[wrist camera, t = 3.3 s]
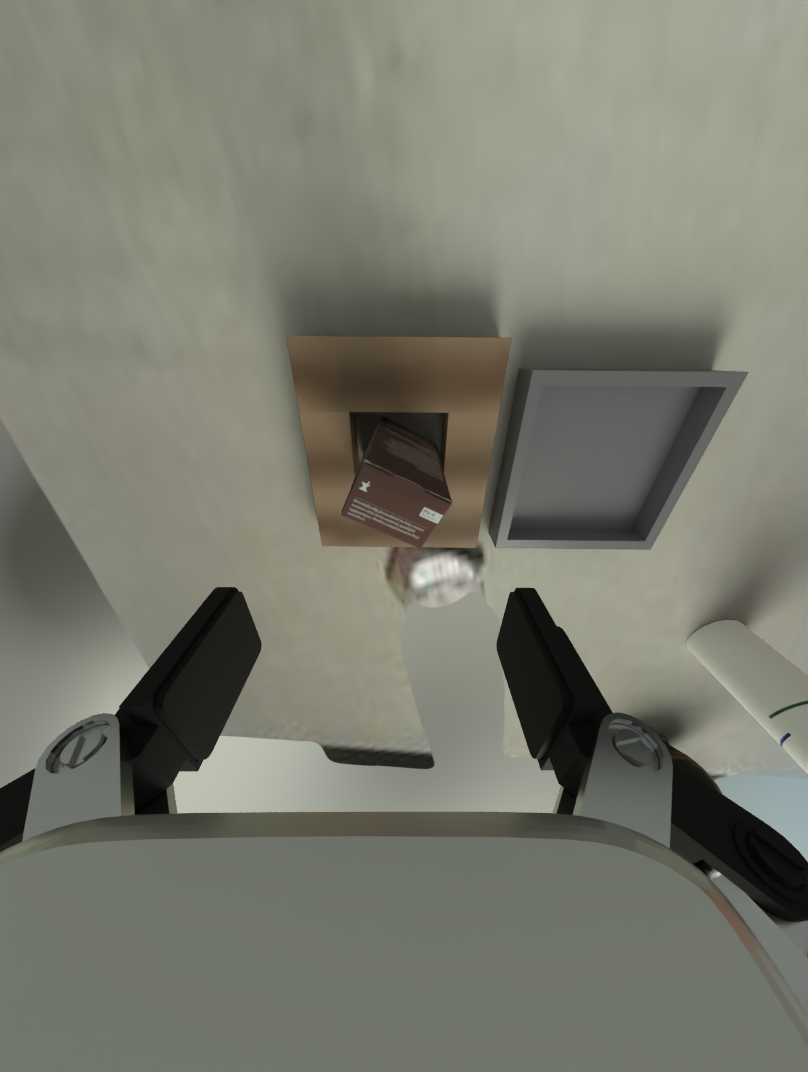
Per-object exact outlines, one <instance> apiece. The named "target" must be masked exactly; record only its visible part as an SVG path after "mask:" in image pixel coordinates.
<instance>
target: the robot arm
mask: <svg viewBox="0 0 808 1072" xmlns="http://www.w3.org/2000/svg"><path fill="white" fill-rule="evenodd" d="M260 651H261V640H260V638H259V635H258V632H257V630H256V627H255V624H254V622H253V619H252V617H251V614H250V611H249V609H248V606H247V603H246V601H245V598H244V596H243V593H242V592H239V591H238V589H237V588H235V587H217V588H215V589H214V590H213V591H212V592H211V594H210V595H209V596H208V597H207V599H206V600H205V601H204V602H203V604H202V605H201V606H200V607H199V609H198V610H197V611H196V612H195V613H194V615H193V616H192V617H191V618H190V620H189V621H188V622H187V623H186V625H185V626H184V627H183V628H182V630H181V631H180V632H179V633H178V634H177V636H176V637H175V638H174V639H173V641H172V642H171V643H170V644H169V646H168V647H167V648H166V649H165V651H164V652H163V653H162V654H161V655H160V657H159V658H158V659H157V660H156V662H155V663H154V664H153V665H152V667H151V668H150V669H149V670H148V672H147V673H146V674H145V675H144V677H143V678H142V679H141V680H140V682H139V683H138V684H137V685H136V686H135V688H134V689H133V690H132V691H131V693H130V694H129V695H128V697H127V698H126V699H125V700H124V701H123V702H122V704H121V705H120V706H119V708H120V709H119V710H118V711H117V713H116V714H115V715H113V714H106V713H103V714H99V715H93V716H91V717H89V718H86V719H84V720H81V721H80V722H78V723H76V724H75V725H73V726H71V727H70V728H68V729H67V730H66V731H65V732H63V733H62V734H60V735H59V736H58V737H57V738H56V739H55V740H54V741H53V742H52V743H51V744H50V745H49V746H48V747H47V748H46V750H45V751H44V753H43V754H42V755H41V757H40V758H39V761H38V763H37V766H36V768H35V769H33V770H31V771H30V772H28V773H26V774H25V775H23V776H21V777H19V778H18V779H16V780H14V781H12V782H11V783H9V784H7V785H6V786H4V787H2V788H0V1072H808V862H807V861H806V860H805V858H804V857H803V856H802V855H801V854H800V852H799V851H798V850H797V849H796V848H795V847H794V846H793V845H792V844H791V843H790V842H789V841H788V840H787V839H786V838H785V837H783V836H782V835H781V834H779V833H778V832H777V831H776V830H774V829H773V828H771V827H770V826H769V825H767V824H766V823H764V822H763V821H761V820H760V819H758V818H757V817H755V816H754V815H752V814H751V813H749V812H748V811H746V810H745V809H743V808H742V807H740V806H739V805H737V804H736V803H734V802H733V801H731V800H730V799H728V798H727V797H725V796H724V795H722V794H721V793H719V792H718V791H716V790H715V789H713V788H712V787H710V786H709V785H707V784H706V783H704V782H703V781H701V780H700V779H698V778H697V777H695V776H694V775H692V774H691V773H689V772H688V771H686V770H685V769H683V768H682V767H680V766H678V765H677V764H675V763H674V762H672V758H671V755H670V753H669V751H668V749H667V747H666V745H665V744H664V742H663V741H662V740H661V738H660V737H659V736H658V735H657V734H656V733H655V732H654V731H653V730H652V729H651V728H650V727H649V726H647V725H646V724H644V723H643V722H642V721H640V720H639V719H637V718H634V717H632V716H630V715H628V714H623V713H612V711H611V709H610V707H609V706H608V704H607V702H606V701H605V699H604V697H603V696H602V694H601V692H600V691H599V689H598V687H597V685H596V684H595V682H594V680H593V679H592V677H591V675H590V674H589V672H588V670H587V669H586V667H585V665H584V663H583V662H582V660H581V658H580V657H579V655H578V653H577V652H576V650H575V648H574V647H573V645H572V643H571V641H570V640H569V638H568V636H567V635H566V633H565V632H564V630H563V629H562V628H560V627H557V626H556V624H555V623H554V621H553V619H552V617H551V616H550V614H549V612H548V610H547V609H546V607H545V605H544V603H543V602H542V600H541V598H540V597H539V595H538V593H537V591H536V590H535V589H534V588H516V589H515V591H514V592H511V593H510V594H509V598H508V602H507V605H506V609H505V613H504V617H503V621H502V624H501V628H500V632H499V636H498V639H497V652H498V655H499V658H500V661H501V665H502V668H503V671H504V674H505V677H506V680H507V683H508V686H509V689H510V692H511V696H512V699H513V702H514V705H515V708H516V711H517V714H518V717H519V720H520V724H521V727H522V730H523V733H524V736H525V739H526V742H527V745H528V748H529V751H530V754H531V756H532V757H533V758H534V759H538V762H539V765H540V768H541V770H554V771H555V775H556V777H557V780H558V783H559V784H560V785H561V787H560V790H559V794H558V797H557V800H556V803H555V807H554V810H553V813H514V812H268V813H267V812H266V813H265V812H264V813H182V814H177V807H176V801H175V794H174V786H173V782H174V780H175V778H176V776H177V774H178V772H179V771H198V770H199V768H200V766H201V764H202V762H203V760H204V759H207V758H208V757H209V756H210V754H211V752H212V751H213V749H214V746H215V745H216V742H217V740H218V738H219V736H220V734H221V732H222V730H223V728H224V726H225V724H226V722H227V720H228V718H229V716H230V713H231V711H232V709H233V707H234V705H235V703H236V701H237V699H238V697H239V695H240V693H241V691H242V689H243V687H244V684H245V682H246V680H247V678H248V676H249V674H250V672H251V670H252V668H253V666H254V664H255V662H256V660H257V657H258V655H259V653H260Z"/></svg>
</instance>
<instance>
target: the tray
mask: <svg viewBox="0 0 808 1072" xmlns="http://www.w3.org/2000/svg"><path fill="white" fill-rule="evenodd" d="M747 374H748V372H736V371H716V370H612V369H519V375H518V380H517V385H516V391H515V396H514V401H513V406H512V412H511V417H510V422H509V428H508V433H507V438H506V444H505V449H504V454H503V460H502V465H501V470H500V475H499V481H498V486H497V491H496V497H495V502H494V507H493V513H492V518H491V523H490V529H489V535H490V537H491V539H492V541H493V543H494V546H495V548H552V549H645V550H650V549H651V548H652V546H653V544H654V542H655V540H656V539H657V537H658V535H659V533H660V531H661V530H662V528H663V526H664V524H665V522H666V521H667V519H668V517H669V515H670V513H671V511H672V510H673V508H674V506H675V504H676V502H677V501H678V499H679V497H680V495H681V493H682V492H683V490H684V488H685V486H686V484H687V482H688V481H689V479H690V477H691V475H692V473H693V472H694V470H695V468H696V466H697V464H698V463H699V461H700V459H701V457H702V455H703V454H704V452H705V450H706V448H707V446H708V444H709V443H710V441H711V439H712V437H713V435H714V434H715V432H716V430H717V428H718V426H719V425H720V423H721V421H722V419H723V417H724V415H725V414H726V412H727V410H728V408H729V406H730V405H731V403H732V401H733V399H734V397H735V396H736V394H737V392H738V390H739V388H740V387H741V385H742V383H743V381H744V379H745V377H746V376H747Z"/></svg>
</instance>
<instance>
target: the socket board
mask: <svg viewBox="0 0 808 1072" xmlns="http://www.w3.org/2000/svg"><path fill="white" fill-rule="evenodd" d="M286 338H287V343H288V349H289V355H290V361H291V367H292V373H293V379H294V384H295V390H296V396H297V402H298V408H299V414H300V420H301V425H302V431H303V437H304V443H305V449H306V455H307V460H308V466H309V472H310V478H311V484H312V490H313V496H314V501H315V507H316V513H317V519H318V525H319V531H320V537H321V542H322V546H365V547H415V546H412V545H410V544H408V543H405V542H403V541H401V540H398V539H396V538H394V537H391V536H389V535H386V534H384V533H382V532H379V531H377V530H374V529H372V528H370V527H367V526H365V525H363V524H360V523H358V522H356V521H353V520H351V519H348V518H346V517H344V516H342V515H341V512H342V508H343V506H344V504H345V501H346V499H347V496H348V494H349V491H350V489H351V486H352V483H353V481H354V478H355V475H356V473H357V471H358V468H359V457H358V444H357V430H356V417H355V412H418V413H444V422H443V436H442V449H441V465H442V468H443V472H444V475H445V479H446V482H447V486H448V489H449V493H450V497H451V499H452V505H451V506H450V508H449V509H448V511H447V512H446V513H445V515H444V516H443V517H442V519H441V520H440V522H439V523H438V524H437V526H436V527H435V529H434V530H433V532H432V533H431V535H430V536H429V538H428V539H427V541H426V542H425V544H424V545H423V546H422V547H458V548H476V546H477V540H478V534H479V528H480V522H481V516H482V511H483V505H484V499H485V493H486V487H487V481H488V475H489V469H490V463H491V457H492V451H493V445H494V439H495V433H496V427H497V421H498V415H499V409H500V403H501V397H502V391H503V385H504V379H505V373H506V367H507V361H508V355H509V349H510V343H511V338H495V337H370V336H286Z"/></svg>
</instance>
